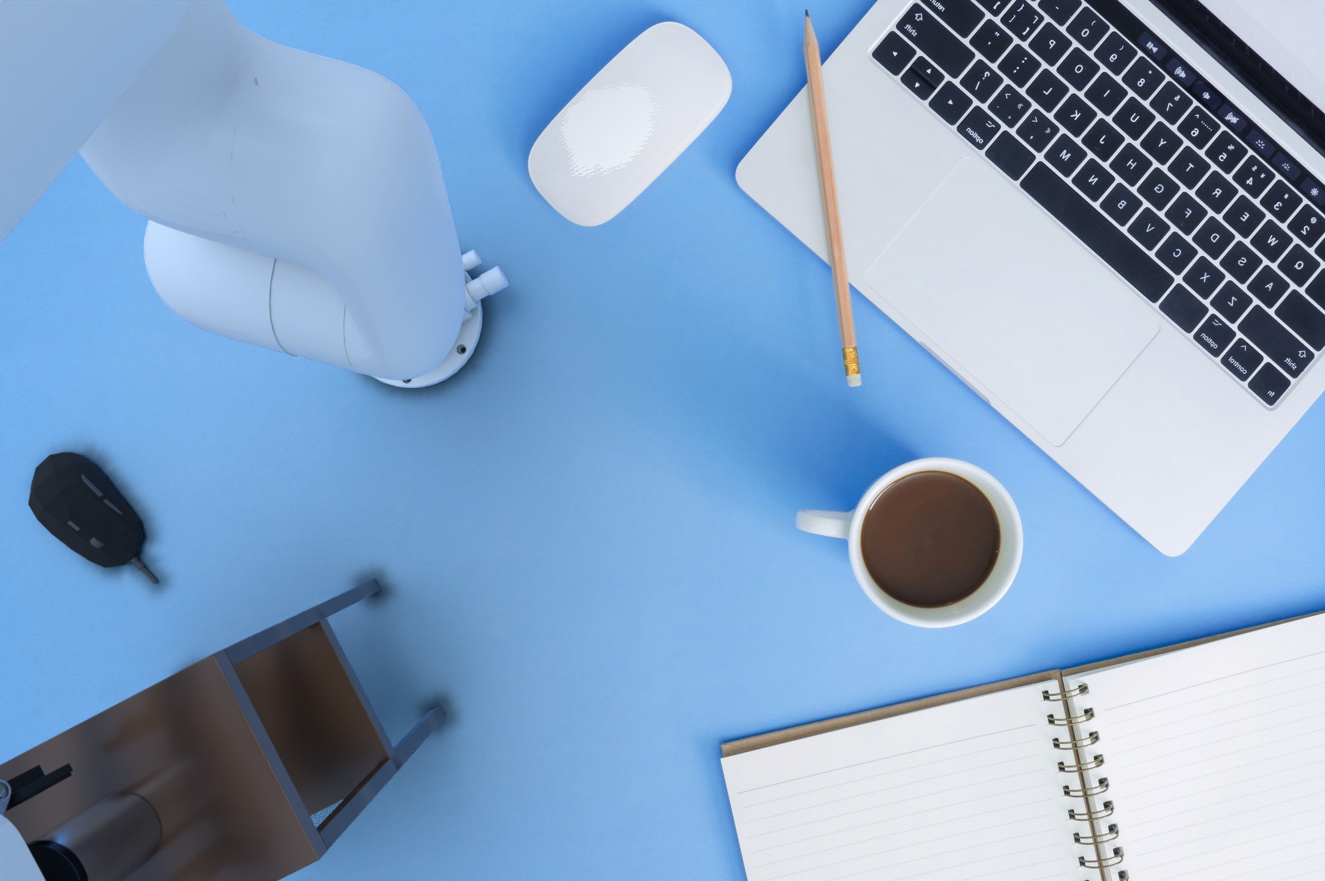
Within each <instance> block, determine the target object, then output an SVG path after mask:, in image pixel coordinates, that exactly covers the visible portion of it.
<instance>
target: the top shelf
mask: <svg viewBox="0 0 1325 881" xmlns="http://www.w3.org/2000/svg"><path fill="white" fill-rule="evenodd" d="M68 763H70V765H71V767H72V769H73V771H72V772H71V774H72V776H70V777H68V778H66V779H65V780H63V781H61V782H59V783H57V784H56V785H54V786H52V787H50V788H48V789H47V790H45V791H43V792H41V793H39V794H38V795H36V796H34V797H32V798H30V799H29V800H27V801H25V802H23V803H21V804H19V805H17V806H15V807H14V808H12V809H10V810H8V811H6V812H5V814H4V817H6V818H7V819H8V820H9V821H10V822H12V824H13V825H14V826H15V827H16V828H17V830H18V831H19V833H20V834H21V836H22V838H23V840H24V841H25V843H28V842H31V841H33V840H35V839H36V838H38V837H39V836H41V835H43V834H44V833H46V832H47V831H49V830H51V829H52V828H54V827H56V826H57V825H59V824H60V823H62V822H64V821H65V820H67V819H68V818H70V817H72V816H73V815H75V814H77V813H78V812H80V811H81V810H83V809H85V808H86V807H88V806H89V805H91V804H93V803H94V802H96V801H98V800H99V799H101V798H102V797H104V796H106V795H109V794H112V793H117V792H126V793H132V794H135V795H137V796H139V797H141V798H143V799H144V800H146V801H147V802H148V803H149V804H150V805H151V806H152V807H153V809H154V810H155V812H156V814H157V816H158V818H159V821H160V826H161V839H160V843H159V846H158V849H157V851H156V853H155V854H154V855H153V857H152V858H151V859H150V860H149V861H148V862H147V863H146V864H144V865H143V866H142V867H140V868H139V869H138V870H137V871H135V872H134V873H133V874H132V875H130V876H129V877H128V878H126V879H125V880H124V881H280V880H282V879H284V878H287V877H289V876H291V875H293V874H295V873H297V872H299V871H301V870H302V869H305V868H306V867H309V866H311V865H313V864H315V863H317V862H318V861H320V860H321V859H322V858H323V857H324V856H325V854H326V853H327V852H328V850H327V848H326V846H325V844H324V843H323V841H322V839H321V837H320V835H319V833H318V831H317V829H316V828H317V826H316V825H315V823H314V822H313V819H312V816H310V815H309V814H308V812H307V810H306V808H305V806H304V804H303V802H302V800H301V798H300V796H299V794H298V792H297V790H296V788H295V786H294V784H293V783H292V781H291V779H290V777H289V775H288V773H287V771H286V769H285V767H284V765H283V763H282V761H281V759H280V757H279V755H278V753H277V752H276V750H275V748H274V746H273V744H272V742H271V740H270V738H269V736H268V734H267V732H266V730H265V728H264V726H263V724H262V722H261V721H260V719H259V717H258V715H257V713H256V711H255V709H254V707H253V705H252V703H251V701H250V699H249V697H248V695H247V693H246V692H245V690H244V688H243V686H242V684H241V682H240V680H239V678H238V676H237V674H236V672H235V670H234V668H233V666H232V664H231V662H230V661H229V659H228V657H227V655H226V653H225V651H224V648H222V649H220V650H218V651H215V652H214V653H211V654H210V655H207V656H206V657H204V658H202V659H200V660H198V661H196V662H194V663H192V664H191V665H188V666H187V667H184V668H183V669H180V670H179V671H176V672H174V673H173V674H171V675H169V676H167V677H166V678H163V679H162V680H160V681H158V682H156V683H154V684H152V685H150V686H148V687H146V688H145V689H142V690H140V691H139V692H137V693H135V694H132V695H131V696H129V697H127V698H125V699H124V700H121V701H119V702H118V703H116V704H114V705H112V706H110V707H108V708H106V709H104V710H102V711H100V712H98V713H96V714H95V715H93V716H91V717H89V718H87V719H85V720H83V721H81V722H79V723H77V724H76V725H73V726H72V727H69V728H67V729H66V730H64V731H62V732H60V733H59V734H56V735H54V736H52V737H51V738H49V739H46V740H45V741H43V742H41V743H39V744H37V745H35V746H33V747H32V748H30V749H28V750H25V751H24V752H22V753H20V754H18V755H15V756H14V757H13V758H11V759H9V760H7V761H5V762H2V763H1V764H0V779H2V780H5V781H8V780H10V779H12V778H14V777H16V776H18V775H20V774H22V773H24V772H26V771H28V770H30V769H32V768H34V767H36V766H37V765H40V767H41V768H42V770H43V772H44V774H45V775H47V774H49V773H51V772H53V771H55V770H56V769H58V768H60V767H62V766H64V765H66V764H68Z"/></svg>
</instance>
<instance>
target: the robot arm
mask: <svg viewBox="0 0 1325 881" xmlns="http://www.w3.org/2000/svg"><path fill="white" fill-rule="evenodd" d="M77 154H78V155H79V156H81V158H82V159H83V161H84V162H85V163H86V164H87V166H88V167H89V168H90V170H91V171H92V172H93V173H94V175H95V176H96V177H97V179H99V181H100V182H101V183H102V185H103V186H105V187H106V189H107V190H108V191H109V193H111V194H112V195H113V196H114V197H115V198H116V199H117V200H118V201H119V202H120V203H121V204H123V205H124V206H125V207H126V208H128V209H129V210H130V211H132V212H134V213H136V214H138V215H139V216H141V217H143V218H144V219H147V220H148V221H147V224H146V228H145V233H144V236H143V259H144V264H145V268H146V273H147V275H148V277H149V280H150V283H151V284H152V286H153V288H154V290H155V292H156V294H157V295H158V296H159V298H160V299H161V300H162V301H163V303H164V304H165V305H166V306H167V307H168V308H169V309H170V311H172V312H173V313H174V314H175V315H177V316H178V317H179V318H181V319H182V320H183V321H185V322H187V323H188V324H189V325H191V326H193V327H195V328H197V329H199V330H202V331H204V332H207V333H209V334H212V335H215V336H219V337H222V338H225V339H229V340H232V341H236V342H239V343H244V344H248V345H251V346H254V347H258V348H262V349H266V350H269V351H273V352H276V353H279V354H284V355H288V356H292V357H296V358H297V357H299V358H301V359H307V360H310V361H314V362H317V363H321V364H324V365H328V366H331V367H335V368H339V369H342V370H346V371H350V372H354V373H357V374H361V375H365V376H369V377H372V378H374V379H375V380H377V381H379V382H381V383H383V384H387V385H390V386H393V387H398V388H403V389H404V388H405V389H421V388H426V387H431V386H434V385H436V384H439V383H441V382H444V381H447V380H448V379H449V378H451V377H452V376H453V375H456V373H458V372H459V371H460V370H461V369H462V368H463V367H464V366H465V365H466V364H467V362H468V361H469V359H470V358H471V356H472V355H473V353H474V352H475V349H476V347H477V346H478V343H479V340H480V337H481V333H482V329H483V328H482V327H483V307H482V301H481V300H482V299H484V298H486V297H488V296H493V295H495V294H496V293H498V292H500V291H502V290H504V289H505V288H507V287H510V284H509V281H508V279H507V277H506V275H505V274H504V272H503V271H502V269H501V267H500V266H499V265H496V266H494V267H493V268H491V269H489V270H487V271H485V272H483V273H481V274H479V276H478V277H476V278H475V279H472V277H471V276H470V274H469V273H468V271H470V270H472V269H473V268H476V267H478V266H479V265H481V264H482V260H481V257H480V256H479V254H478V253H477V251H476V249H474V248H473V249H471V250H469V251H468V252H465V253H464V254H462V252H461V247H460V242H459V238H458V234H457V229H456V225H455V221H454V216H453V211H452V208H451V204H450V199H449V196H448V191H447V187H446V183H445V178H444V174H443V170H442V166H441V161H440V158H439V157H440V156H439V154H438V148H437V146H436V143H435V139H434V136H433V133H432V130H431V128H430V126H429V122H428V121H427V118H426V117H425V115H424V113H423V111H422V110H421V108H420V107H419V106H418V105H417V104H416V102H415V101H414V100H413V99H412V98H411V96H410V95H409V94H408V93H407V92H406V91H405V90H403V89H402V88H401V87H400V86H399V85H398V84H396V83H395V82H393V81H392V80H390V79H389V78H388V77H385V76H384V75H381V74H380V73H378V72H375V71H373V70H371V69H368V68H366V67H362V66H359V65H357V64H354V63H351V62H348V61H343V60H340V59H336V58H333V57H329V56H326V55H321V54H319V53H318V54H317V53H314V52H310V51H306V50H302V49H299V48H296V47H291V46H287V45H284V44H282V43H277V42H276V41H274V40H273V41H272V40H271V39H268V38H265V37H264V36H261V35H259V34H257V33H256V32H254V31H252V30H250V29H249V28H247V27H245V26H244V25H243V24H242V23H241V22H240V21H238V19H237V18H236V16H235V15H234V14H233V12H232V10H230V7H229V6H228V4H227V2H226V1H225V0H0V247H1V246H2V245H3V244H4V243H5V241H7V239H8V238H9V237H10V236H11V234H12V233H13V232H14V231H15V230H16V229H17V228H18V226H19V225H20V224H21V223H22V222H23V220H25V218H26V217H27V216H28V215H29V213H30V212H31V211H32V210H33V208H35V206H36V205H37V204H38V203H39V202H40V200H41V199H42V197H44V195H45V194H46V193H47V191H48V190H49V189H50V187H51V186H52V185H53V184H54V183H55V181H56V180H57V179H58V178H59V176H60V175H61V174H62V173H63V171H64V170H66V168H67V166H68V165H69V164H70V163H71V161H72V160H73V159H74V158H75V156H76V155H77ZM464 348H465V351H464V352H463V351H462V350H463V349H464ZM409 380H410V381H409ZM72 771H73V769H72V767H71V765H70V763H68V764H66V765H64V766H62V767H60V768H58V769H56V770H55V771H53V772H51V773H49V774H47V775H45V774H44V772H43V770H42V768H41V767H40V765H37V766H36V767H34V768H32V769H30V770H28V771H26V772H24V773H22V774H20V775H18V776H16V777H14V778H12V779H10V780H8V781H5V780H2V779H0V881H45V879H44V877H43V875H42V873H41V871H40V869H39V867H38V865H37V863H36V862H35V860H34V858H33V856H32V854H31V852H30V850H29V848H28V847H27V845H26V843H25V841H24V840H23V838H22V836H21V834H20V833H19V831H18V830H17V828H16V827H15V826H14V825H13V824H12V822H10V821H9V820H8V819H7V818H6V817H4V814H5V812H6V811H8V810H10V809H12V808H14V807H15V806H17V805H19V804H21V803H23V802H25V801H27V800H29V799H30V798H32V797H34V796H36V795H38V794H39V793H41V792H43V791H45V790H47V789H48V788H50V787H52V786H54V785H56V784H57V783H59V782H61V781H63V780H65V779H66V778H68V777H70V776H72V774H71V772H72Z"/></svg>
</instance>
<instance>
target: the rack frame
mask: <svg viewBox="0 0 1325 881" xmlns="http://www.w3.org/2000/svg"><path fill="white" fill-rule="evenodd" d="M380 591H381V587H380V586H379V584H378V582H377V580H376V578H372V579H369V580H368V581H366V582H363V583H362V584H359V585H357V586H355V587H353V588H351V589H349V590H347V591H344V592H342V593H340V594H337V595H336V596H333V597H331V598H329V599H327V600H324V601H323V602H321V603H318V604H317V605H314V606H312V607H310V608H307V609H305V610H304V611H301V612H299V613H297V614H295V615H292V616H290V617H288V618H286V619H284V620H282V621H280V622H277V623H276V624H273V625H271V626H270V627H267V628H265V629H262V630H261V631H259V632H256V633H254V634H252V635H250V636H247V637H245V638H243V639H241V640H239V641H237V642H235V643H232V644H230V645H228V646H226V647H224V648H223V649H224V651H225V653H226V655H227V657H228V659H229V661H230V662H231V664H232V666H233V668H234V670H235V672H236V674H237V676H238V678H239V680H240V682H241V684H242V686H243V688H244V690H245V692H246V693H247V695H248V697H249V699H250V701H251V703H252V705H253V707H254V709H255V711H256V713H257V715H258V717H259V719H260V721H261V722H262V724H263V726H264V728H265V730H266V732H267V734H268V736H269V738H270V740H271V742H272V744H273V746H274V748H275V750H276V752H277V753H278V755H279V757H280V759H281V761H282V763H283V765H284V767H285V769H286V771H287V773H288V775H289V777H290V779H291V781H292V783H293V784H294V786H295V788H296V790H297V792H298V794H299V796H300V798H301V800H302V802H303V804H304V806H305V808H306V810H307V812H308V814H309V815H310V817H312V816H313V815H316V814H318V813H319V812H322V811H324V810H325V809H327V808H329V807H332V806H333V805H336V804H338V803H339V804H338V805H336V807H335V808H334V809H333V810H332V811H331V812H330V813H329V814H328V815H327V816H326V817H325V818H324V819H323V821H322V822H320V823H319V824H318V826H316V829H317V831H318V833H319V835H320V837H321V839H322V841H323V843H324V844H325V846H326V848H327V851H329V849H330V848H331V847H332V846H333V845H334V844H335V843H336V842H337V840H339V838H340V837H341V836H342V835H343V834H344V833H345V832H346V830H348V828H349V827H350V826H351V825H352V824H353V823H354V822H355V820H356V819H357V818H358V817H359V816H360V815H361V814H362V812H363V811H364V810H365V809H366V808H367V807H368V805H369V804H370V803H371V802H372V801H373V800H374V799H375V798H376V797H377V795H378V794H379V793H380V792H381V791H382V790H383V789H384V788H385V786H386V785H387V784H388V783H389V782H390V781H391V780H392V779H393V777H394V776H395V775H396V774H397V773H398V772H399V771H400V770H401V768H403V766H404V765H405V764H406V763H407V762H408V761H409V759H411V757H412V756H413V755H414V754H415V753H416V752H417V750H418V749H419V748H420V747H421V746H422V744H424V742H425V741H426V740H427V739H428V738H429V737H430V736H431V735H432V734H433V732H434V731H435V730H436V729H437V728H438V727H439V726H440V724H442V722H443V721H444V720H445V719H446V718H447V715H446V713H445V710H444V709H443V707H442V705H440V704H439V705H437V706H436V707H433V708H431V709H430V710H428V711H427V712H426V713H425V715H423V717H422V718H421V719H420V720H419V721H418V722H417V723H416V724H415V725H414V726H413V727H412V728H411V729H410V730H409V731H408V732H407V733H406V734H405V735H404V736H403V737H402V738H401V740H399V741H398V743H397V744H396V745H394V746H393V744H392V742H391V740H390V738H389V737H388V734H387V733H386V730H385V729H384V726H383V725H382V722H381V721H380V719H379V717H378V715H377V713H376V711H375V709H374V707H373V706H372V703H371V701H370V700H369V698H368V696H367V694H366V692H365V690H364V688H363V686H362V684H361V681H360V680H359V678H358V676H357V674H356V673H355V671H354V669H353V667H352V664H351V663H350V661H349V659H348V657H347V655H346V653H345V652H344V649H343V648H342V647H343V646H342V645H341V644H340V642H339V640H338V637H337V636H336V633H335V632H334V630H333V628H332V626H331V624H330V622H329V620H328V618H329V617H331V616H334V615H335V614H337V613H339V612H341V611H344V610H345V609H347V608H349V607H351V606H353V605H355V604H357V603H359V602H360V601H363V600H365V599H366V598H369V597H371V596H373V594H376V593H379V592H380Z"/></svg>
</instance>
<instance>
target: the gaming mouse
mask: <svg viewBox="0 0 1325 881" xmlns="http://www.w3.org/2000/svg"><path fill="white" fill-rule="evenodd" d="M30 485H31V486H30V491H29V497H28V503H27V505H28V507H29V508H30V510H31V512H32V513H33V515H34V517H35V518H36V520H37V521H38V522H39V523H40V524H41V525H42V526H43V527H44V528H45V530H46V531H48V533H50V535H52V537H54V538H56V539H57V540H58V541H60V542H61V543H62V544H64V545H65V546H66V547H67V548H69V549H70V550H71V551H72V552H74V553H76V554H78V555H79V556H81V557H82V558H83V559H85V560H87V561H89V562H90V563H93V564H95V565H97V566H100V567H102V568H105V569H107V568H108V569H109V568H114V567H119V566H125V565H126V564H128V563H131V564H133V567H135V569H136V570H137V571H140V572H142V573H143V575H144V576H145V577H146V578H147V579H149V580H150V581H151V583H152V584H153V585H155V584H156V583H158V579H157V578H155V576H153V575H152V573H151V572H150V571H148V569H147V568H146V567H145V566H146V565H145V564H144V563H143V562H142V561H141V560H139V559H138V557H137V556H136V555H137V554H138V552H139V550H140V547H141V545H142V542H143V539H144V536H145V535H144V532H143V528H142V524H141V521H140V519H139V518H138V516H137V515H136V513H135V512H134V511H133V509H132V508H131V506H130V505H129V504H128V503H127V501H126V500H125V499H124V497H123V496H122V495H121V494H120V493H119V492H118V490H117V489H116V488H115V487H114V485H113V484H112V482H111V481H110V480H109V478H108V477H107V476H106V475H105V474H104V472H103V471H102V470H101V469H100V468H99V467H98V465H97V464H95V463H94V462H92V461H90V460H89V459H88V458H86V457H84V456H83V455H82V454H79V453H76V452H73V451H61V452H57V453H52V454H49V455H47V457H45V458H44V459H43V460H42V461H41V462H40V463H39V464H38V465H37V466H36V467H35V469H34V472H33V476H32V479H31V483H30Z"/></svg>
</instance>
